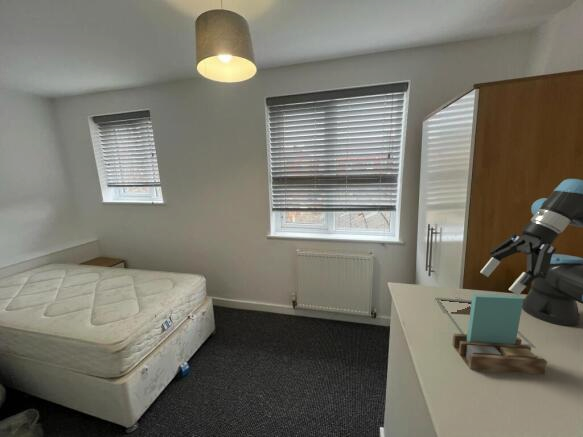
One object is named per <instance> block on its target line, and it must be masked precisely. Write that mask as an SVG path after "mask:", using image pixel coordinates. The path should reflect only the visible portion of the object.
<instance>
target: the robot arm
mask: <svg viewBox="0 0 583 437" xmlns="http://www.w3.org/2000/svg"><path fill="white" fill-rule="evenodd" d="M530 210H531V211H530V212H531V214H532V217H531V219H530V221H528V222H527V223H526V225H524V226H523V228H522V229H521V232H522V235H521V236H518V234H515V233H513V234H511V235H510V236H509V237H508V238H507V239H506V240H504V241H503V242H501V243H500V244H498V245H497V246H495V247H494V248H492V249H491V250H490V251H488V254H489V255H490V256H491V257H490V258H489V260H488V261H487V262H486V264H485V265H484V267H483V268H481V270H480V274H483V275H484V276H486V277H487V278H489V276H490V275H491V274H492V273H493V271H495V269H497V267H498V266H499V265H500V263H501V261H502V260H503V259H506V258H507V257H510V256H512V255H514V254H517V253H518V254H520V253H522V254H526V270H525V271H523V272H522V273H521V274H520V275H519V276H518V278H516V279H515V280H514V282H513V284H512V285H511V286H510V287H509V288H508V290H509V291H510V292H512V293H514V294H515V295H516V296H520V294H521V293H522V292H523V291H524V290H525V289H526V288H527V287H529V286H530V285H531V286H530V289H529V291H528V293H527V294H526V295H525V297H524V298H523V304H522V310H523V311H524V312H525V313H526V314H528V315H530V316H533V317H535V319H539V320H542V321H545V322H546V323H547V322H548V323H551V324H556V325H561V326H566V327H570V326H571V327H572V326H577V325H578V324H580V320H581V315H580V312H579V307H578V303H580V304H581V305H583V257H581V256H580V257H579V256H574V255H568V254H561V253H560V254H559V253H555V252H556V250H557V248H555V247H554V246H552V244H553V243H554V242H555V240H556V239H557V238H559V234H560V233H563V231H565V229H566V228H568V225H569V226H575V227H579V228H583V179H578V178H567V179H564V180H562V181H561V182H560V183H559V185H557V187H555V188H554V189H553V191H552V192H551V194H550V195H549V196H548V197H547V198H546V197H543V198H539V199H537V200H536V201H534V202H533V203H532V205H531V209H530ZM577 302H578V303H577Z"/></svg>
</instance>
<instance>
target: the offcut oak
mask: <svg viewBox="0 0 583 437" xmlns="http://www.w3.org/2000/svg"><path fill="white" fill-rule="evenodd" d="M500 353H501V354H502V355H501V356H513V357H527V358H538V356H537V355H536V354H534V352H532V350H531V351H530V350H529V349H522V348H507V347H500Z"/></svg>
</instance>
